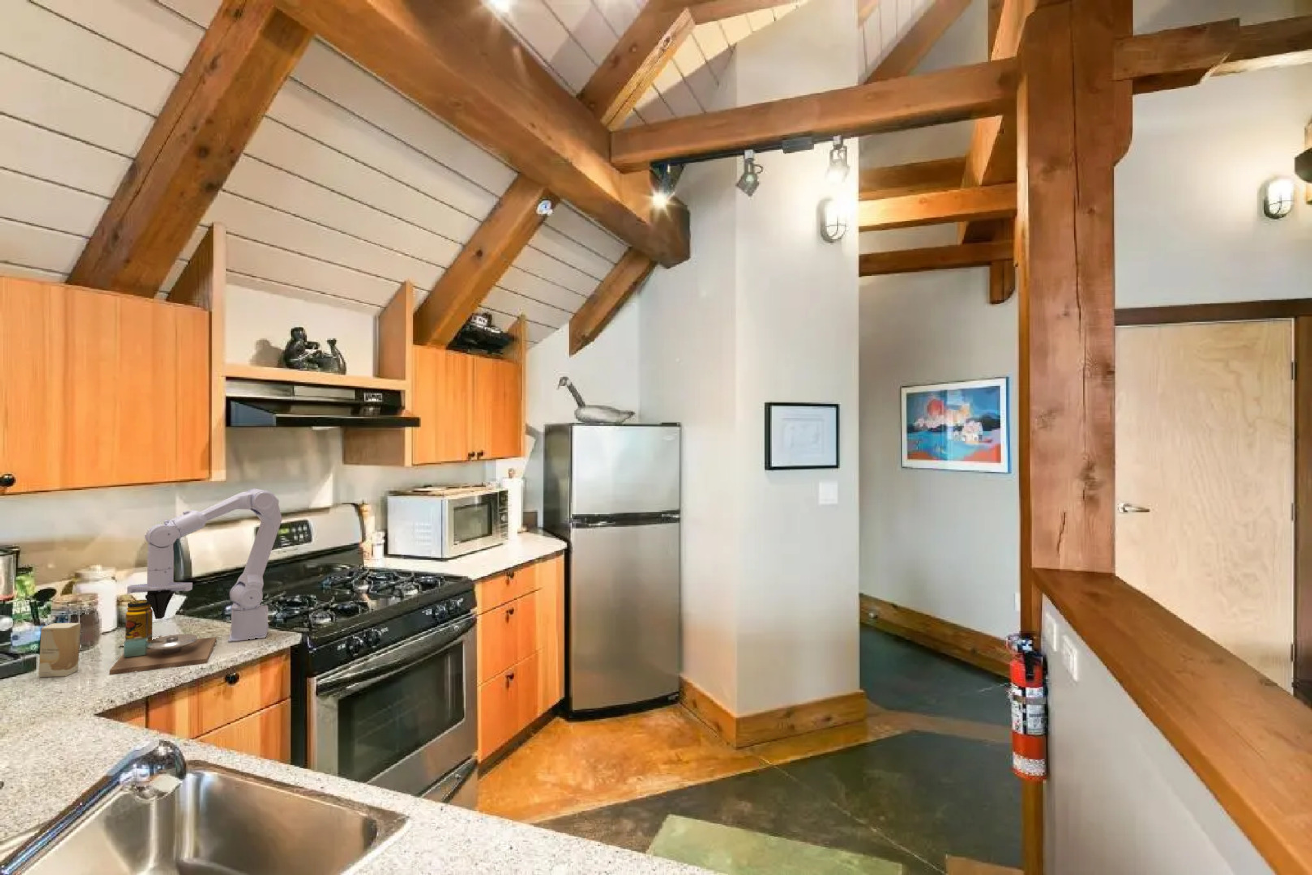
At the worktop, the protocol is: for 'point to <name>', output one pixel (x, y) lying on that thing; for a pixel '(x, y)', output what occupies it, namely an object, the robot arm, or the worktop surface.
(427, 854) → the worktop surface
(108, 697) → the worktop surface
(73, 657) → the skincare box
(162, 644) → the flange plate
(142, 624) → the condiment
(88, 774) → the worktop surface
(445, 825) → the worktop surface
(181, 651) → the walnut base
